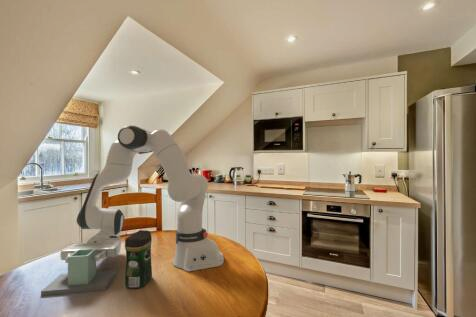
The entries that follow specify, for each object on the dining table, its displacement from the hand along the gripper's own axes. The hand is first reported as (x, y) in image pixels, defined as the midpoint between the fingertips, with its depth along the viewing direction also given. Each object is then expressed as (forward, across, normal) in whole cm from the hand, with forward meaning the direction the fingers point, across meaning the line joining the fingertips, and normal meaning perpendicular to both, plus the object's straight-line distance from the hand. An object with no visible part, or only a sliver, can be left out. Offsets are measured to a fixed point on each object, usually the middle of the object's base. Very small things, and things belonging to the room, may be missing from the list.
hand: (81, 259), depth 81 cm
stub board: (0, 0, +9) cm, 9 cm away
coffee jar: (+2, +20, +9) cm, 22 cm away
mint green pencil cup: (0, 0, +8) cm, 8 cm away
